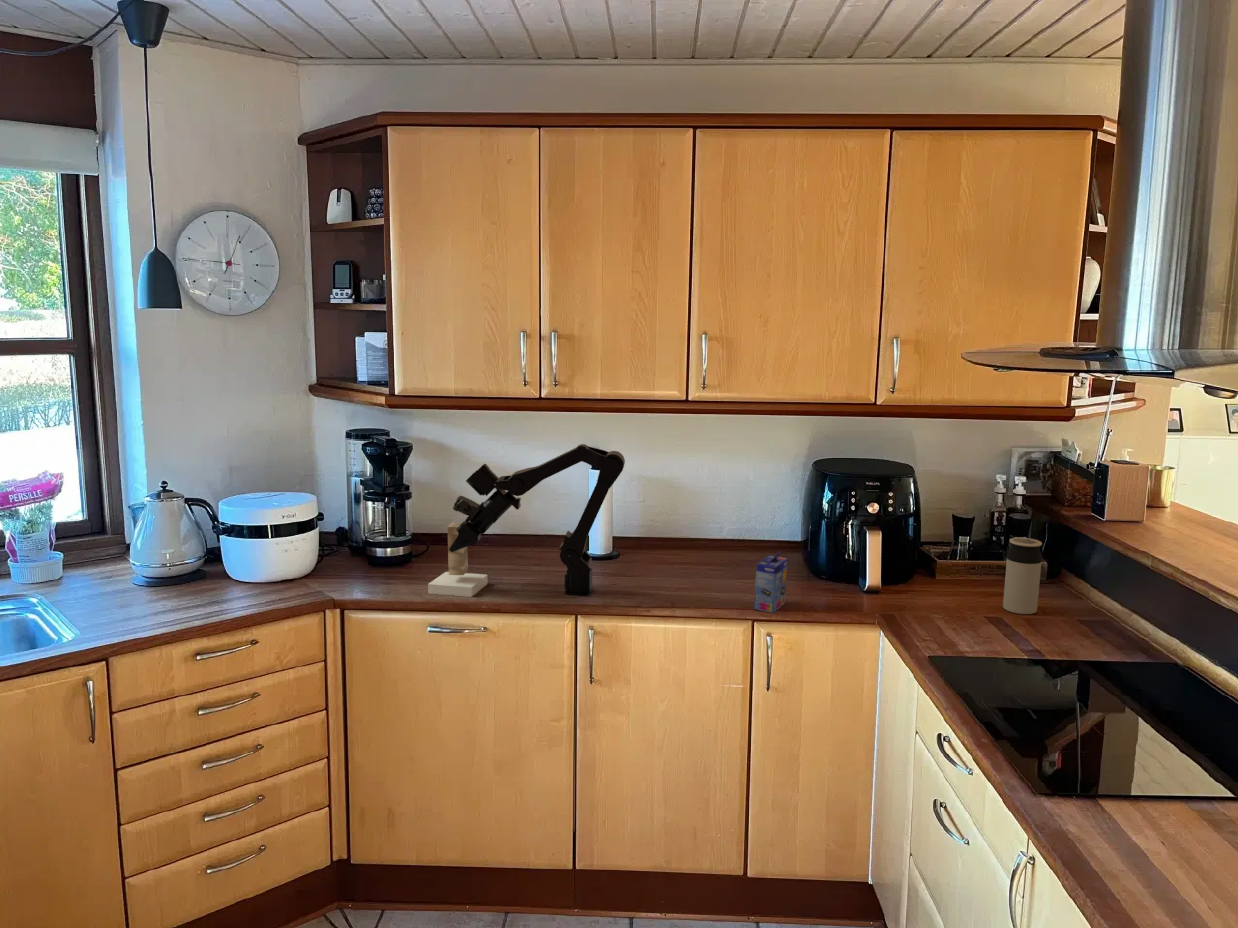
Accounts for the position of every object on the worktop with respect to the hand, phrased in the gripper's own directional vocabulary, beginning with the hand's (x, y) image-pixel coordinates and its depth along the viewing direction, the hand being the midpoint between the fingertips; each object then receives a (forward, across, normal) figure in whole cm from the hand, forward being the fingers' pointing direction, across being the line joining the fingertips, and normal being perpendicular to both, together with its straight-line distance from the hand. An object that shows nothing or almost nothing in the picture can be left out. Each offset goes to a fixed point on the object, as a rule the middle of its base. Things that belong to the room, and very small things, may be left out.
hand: (452, 548), depth 243 cm
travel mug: (-95, +4, +112) cm, 147 cm away
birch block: (+4, 0, +6) cm, 7 cm away
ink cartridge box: (-50, +8, +67) cm, 84 cm away
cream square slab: (+7, 0, +9) cm, 12 cm away
